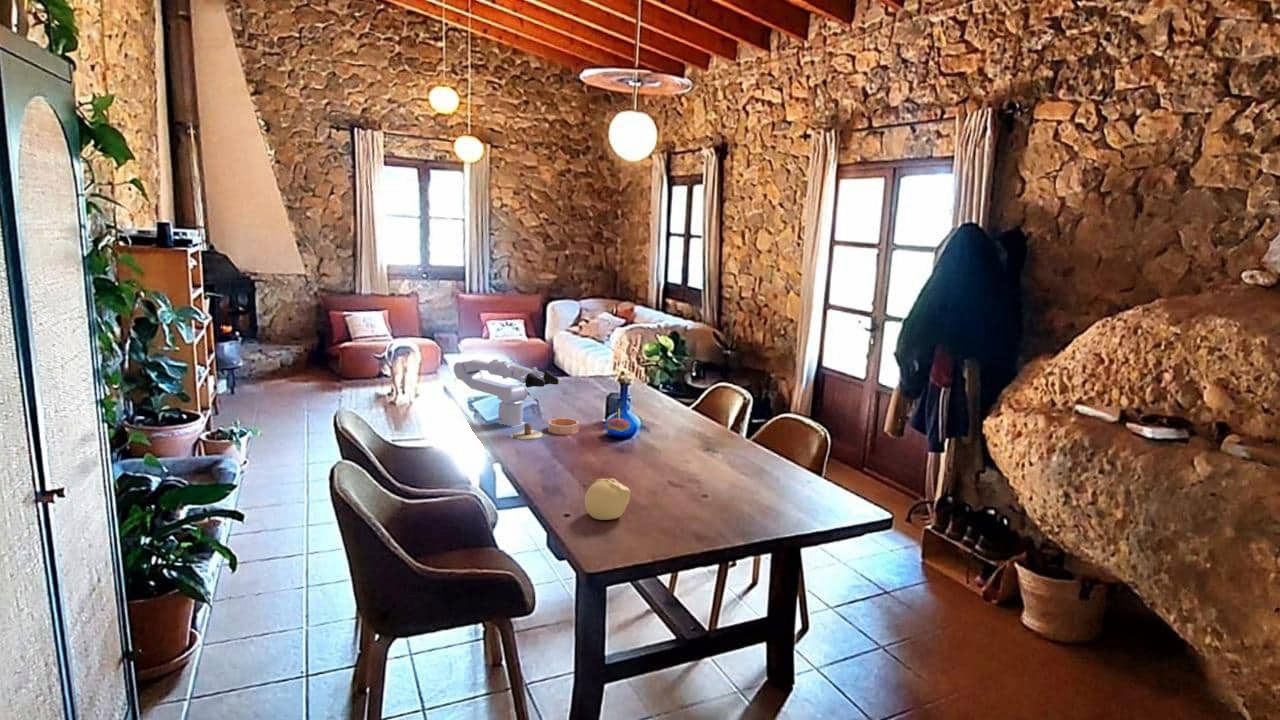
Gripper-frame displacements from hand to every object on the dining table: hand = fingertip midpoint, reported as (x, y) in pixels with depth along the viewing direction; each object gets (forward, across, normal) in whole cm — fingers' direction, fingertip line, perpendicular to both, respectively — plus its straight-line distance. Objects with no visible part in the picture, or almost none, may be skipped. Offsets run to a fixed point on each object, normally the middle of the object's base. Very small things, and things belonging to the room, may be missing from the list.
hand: (550, 382), depth 274 cm
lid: (-3, -6, +21) cm, 22 cm away
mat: (-3, -6, +21) cm, 22 cm away
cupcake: (+21, +18, +19) cm, 33 cm away
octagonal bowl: (+1, +9, +20) cm, 22 cm away
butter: (+65, -44, +19) cm, 81 cm away
